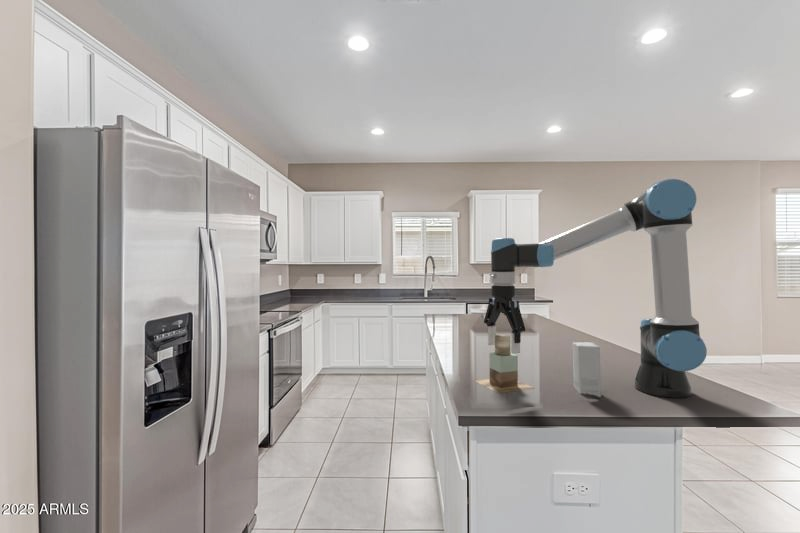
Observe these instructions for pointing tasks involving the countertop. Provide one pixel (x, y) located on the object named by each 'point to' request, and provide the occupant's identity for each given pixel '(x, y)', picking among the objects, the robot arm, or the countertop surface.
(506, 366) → the sage mid block
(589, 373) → the skincare box
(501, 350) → the oak cylinder
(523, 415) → the countertop surface
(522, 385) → the light wood square board
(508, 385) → the walnut base block
